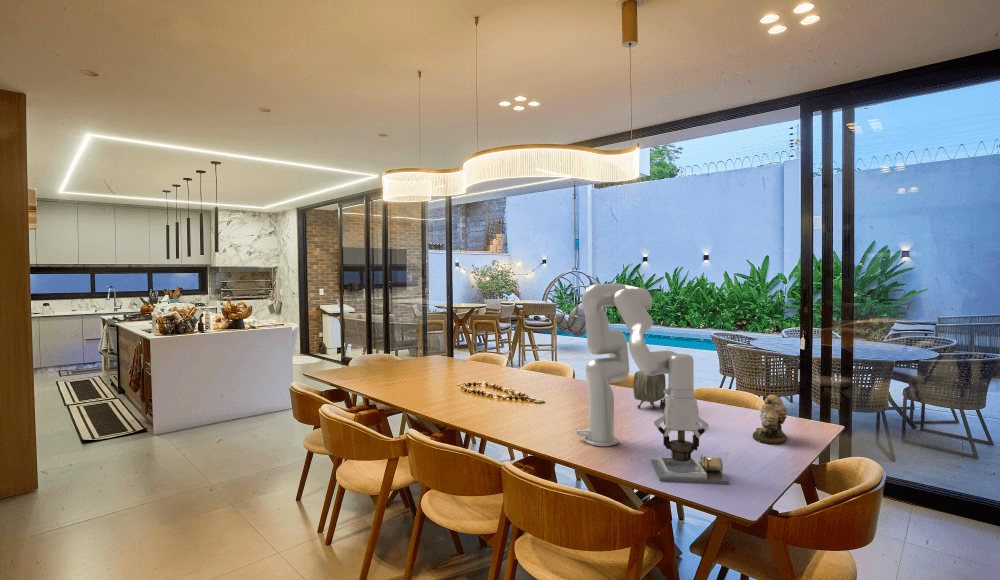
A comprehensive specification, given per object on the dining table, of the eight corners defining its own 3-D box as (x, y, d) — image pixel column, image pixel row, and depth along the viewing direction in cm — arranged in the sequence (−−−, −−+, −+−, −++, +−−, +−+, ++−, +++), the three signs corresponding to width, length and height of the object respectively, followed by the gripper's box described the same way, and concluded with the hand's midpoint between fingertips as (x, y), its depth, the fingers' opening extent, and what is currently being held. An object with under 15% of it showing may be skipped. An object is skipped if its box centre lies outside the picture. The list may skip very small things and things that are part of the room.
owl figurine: (754, 430, 206) (754, 388, 206) (787, 435, 200) (788, 392, 200) (751, 442, 190) (751, 397, 190) (787, 447, 184) (787, 400, 184)
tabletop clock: (650, 403, 252) (650, 353, 252) (666, 407, 245) (666, 355, 245) (633, 408, 242) (633, 356, 242) (649, 412, 236) (649, 358, 235)
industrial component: (697, 459, 161) (697, 421, 160) (690, 465, 155) (690, 426, 154) (667, 453, 166) (667, 416, 166) (660, 459, 160) (660, 421, 160)
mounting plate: (659, 481, 153) (659, 461, 153) (651, 462, 169) (650, 444, 169) (728, 484, 150) (728, 464, 150) (713, 465, 166) (713, 447, 166)
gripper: (654, 395, 157) (654, 451, 157) (713, 396, 155) (713, 453, 155) (650, 390, 165) (650, 443, 165) (706, 391, 162) (706, 445, 162)
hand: (681, 448), depth 160 cm, fingers closed on industrial component, 8 cm apart
